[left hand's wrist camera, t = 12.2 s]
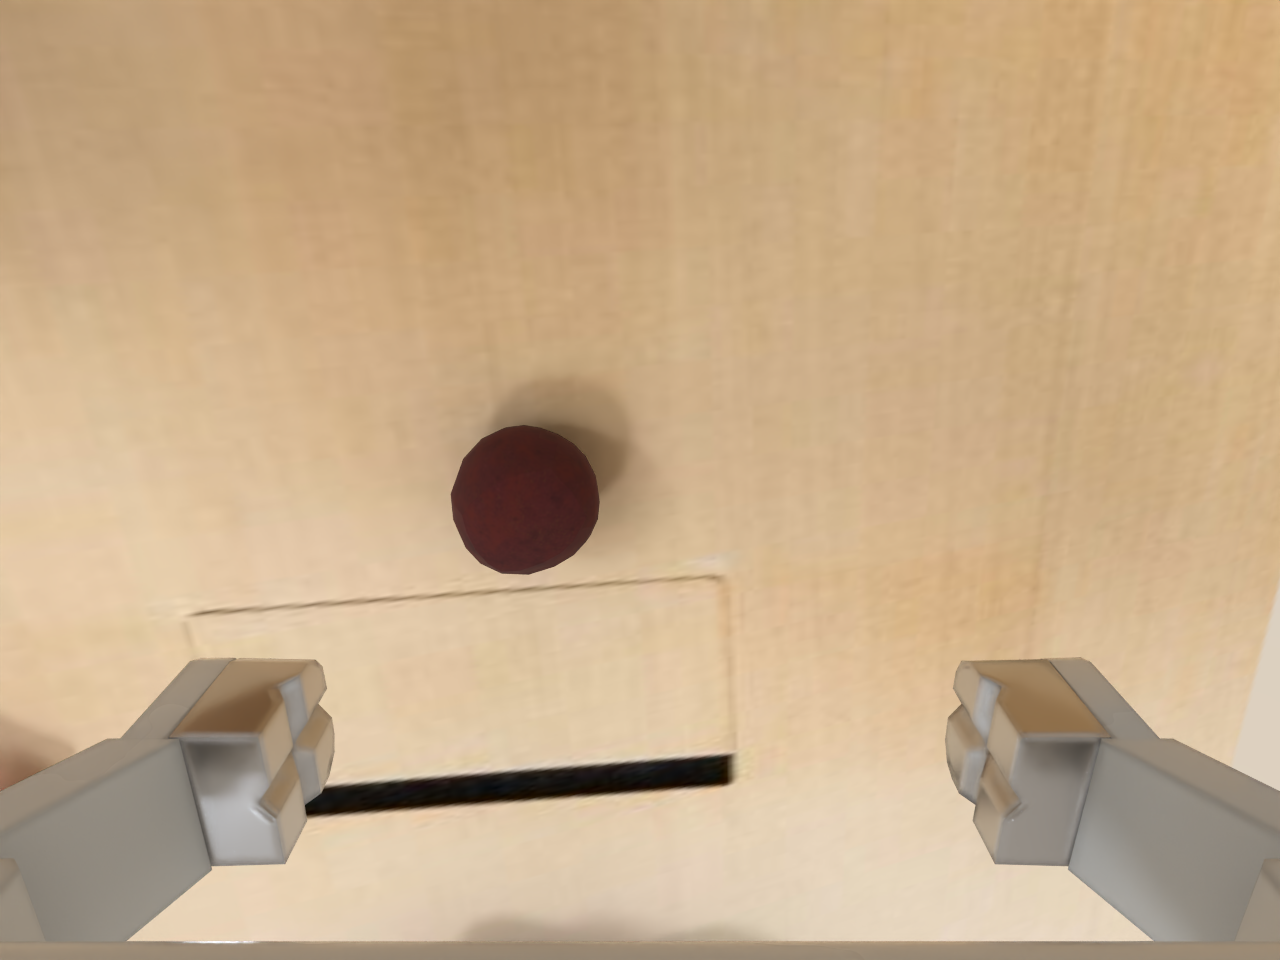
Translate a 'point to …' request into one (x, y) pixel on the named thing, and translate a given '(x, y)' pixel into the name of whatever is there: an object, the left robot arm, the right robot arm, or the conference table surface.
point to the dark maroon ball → (524, 500)
